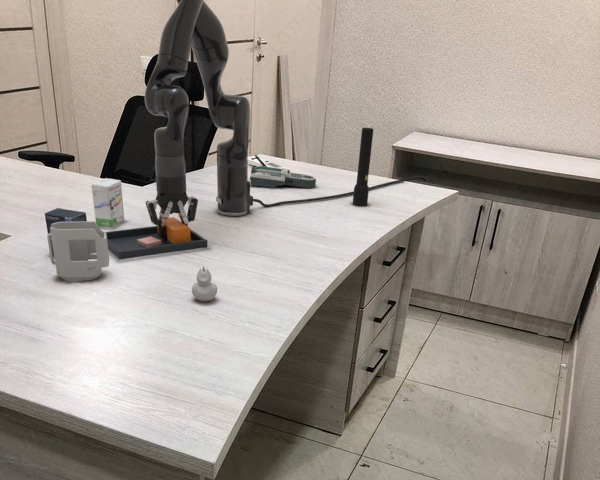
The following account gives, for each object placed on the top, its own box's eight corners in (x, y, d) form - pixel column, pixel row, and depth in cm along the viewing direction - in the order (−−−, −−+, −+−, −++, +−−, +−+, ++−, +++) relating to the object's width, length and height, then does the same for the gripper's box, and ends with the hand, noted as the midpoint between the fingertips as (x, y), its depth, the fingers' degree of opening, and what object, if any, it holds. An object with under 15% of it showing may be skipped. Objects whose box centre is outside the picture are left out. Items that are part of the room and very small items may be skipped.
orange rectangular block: (174, 233, 172) (173, 216, 170) (191, 245, 165) (190, 228, 162) (157, 235, 170) (156, 218, 167) (173, 247, 162) (172, 230, 160)
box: (50, 256, 154) (43, 212, 148) (64, 249, 158) (58, 207, 153) (78, 260, 152) (72, 217, 146) (91, 253, 157) (86, 211, 151)
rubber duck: (190, 304, 134) (189, 268, 130) (194, 292, 139) (193, 257, 135) (215, 305, 134) (215, 269, 130) (218, 293, 140) (218, 259, 135)
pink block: (151, 239, 166) (150, 236, 166) (161, 244, 164) (161, 240, 163) (136, 243, 164) (136, 239, 163) (147, 247, 161) (147, 243, 161)
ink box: (111, 229, 174) (107, 186, 168) (95, 227, 175) (90, 184, 169) (125, 221, 181) (121, 179, 175) (109, 219, 182) (105, 177, 176)
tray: (181, 231, 176) (181, 222, 175) (207, 249, 164) (207, 240, 163) (98, 241, 165) (97, 232, 163) (120, 261, 153) (119, 252, 152)
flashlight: (349, 203, 212) (360, 207, 209) (356, 127, 199) (368, 129, 196) (359, 201, 215) (370, 205, 212) (367, 126, 202) (378, 129, 199)
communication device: (315, 191, 224) (317, 166, 219) (249, 187, 223) (250, 161, 219) (315, 183, 234) (317, 159, 229) (252, 179, 234) (252, 154, 229)
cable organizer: (110, 281, 142) (104, 228, 136) (52, 282, 139) (44, 229, 133) (110, 270, 148) (105, 220, 141) (55, 272, 145) (47, 220, 139)
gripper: (149, 178, 152) (153, 246, 161) (202, 173, 159) (204, 239, 168) (138, 171, 157) (143, 237, 166) (190, 167, 164) (192, 231, 173)
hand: (174, 238), depth 167 cm, fingers closed on orange rectangular block, 5 cm apart
